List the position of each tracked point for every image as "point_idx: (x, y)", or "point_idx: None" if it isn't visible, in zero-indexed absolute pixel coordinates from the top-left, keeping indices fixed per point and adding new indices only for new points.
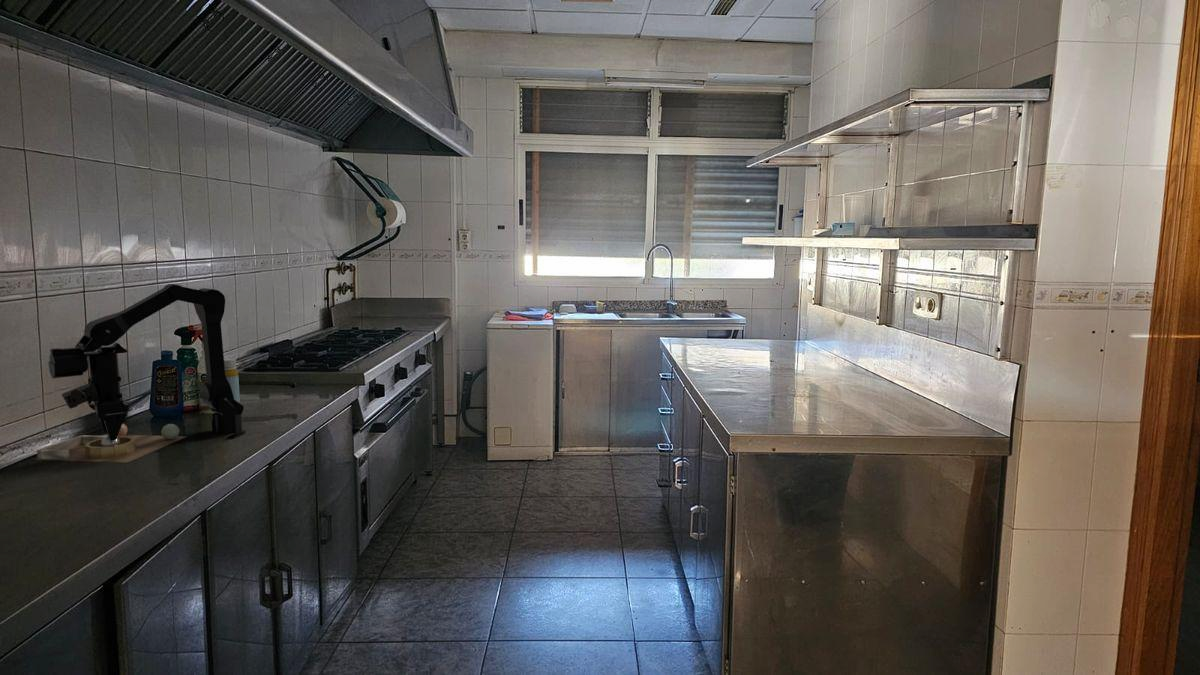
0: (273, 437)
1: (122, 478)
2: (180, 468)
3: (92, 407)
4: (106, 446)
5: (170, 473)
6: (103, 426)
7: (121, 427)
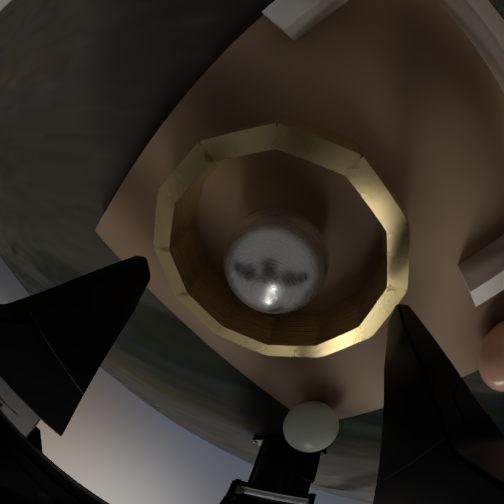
0: (218, 446)
1: (38, 188)
2: None
3: (488, 495)
4: (173, 221)
5: (50, 269)
6: (404, 338)
7: (489, 376)
